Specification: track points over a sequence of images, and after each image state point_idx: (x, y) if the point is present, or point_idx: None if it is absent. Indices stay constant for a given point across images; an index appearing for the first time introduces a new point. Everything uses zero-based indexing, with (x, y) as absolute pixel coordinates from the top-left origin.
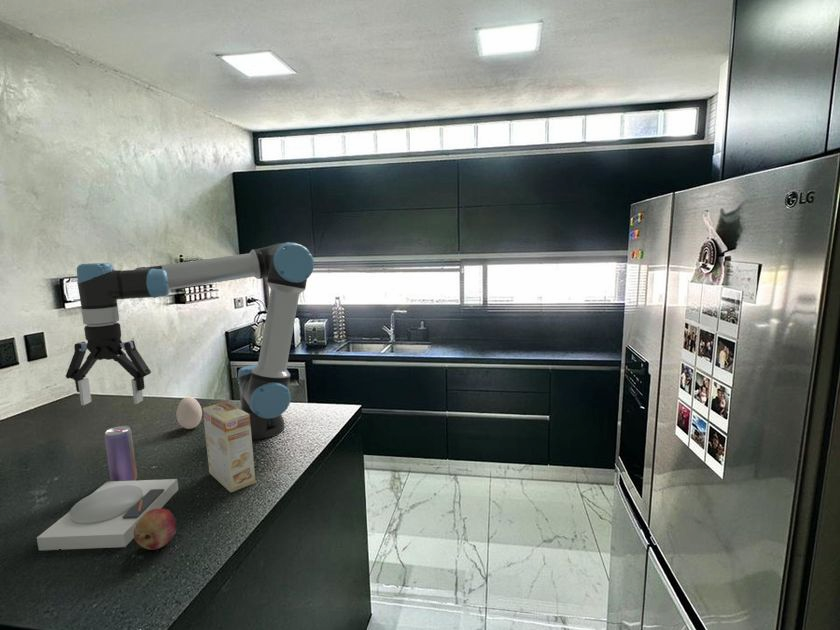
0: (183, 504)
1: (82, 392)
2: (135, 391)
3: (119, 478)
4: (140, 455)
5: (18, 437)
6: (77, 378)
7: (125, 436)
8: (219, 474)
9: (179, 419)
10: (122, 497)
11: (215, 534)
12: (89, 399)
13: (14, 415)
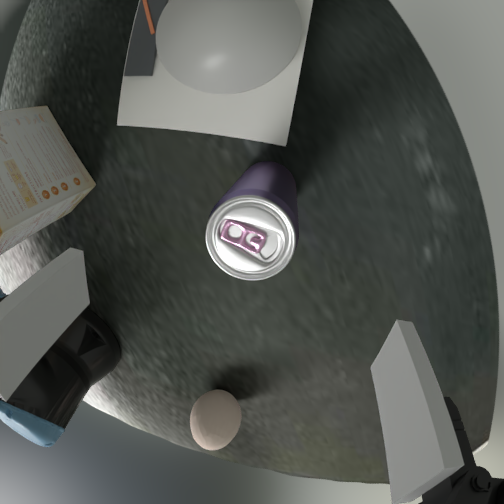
0: (105, 69)
1: (420, 386)
2: (19, 286)
3: (264, 163)
4: (283, 312)
5: (485, 402)
6: (468, 487)
7: (214, 207)
8: (53, 139)
9: (229, 405)
10: (195, 38)
11: (53, 4)
12: (379, 370)
13: (482, 444)
